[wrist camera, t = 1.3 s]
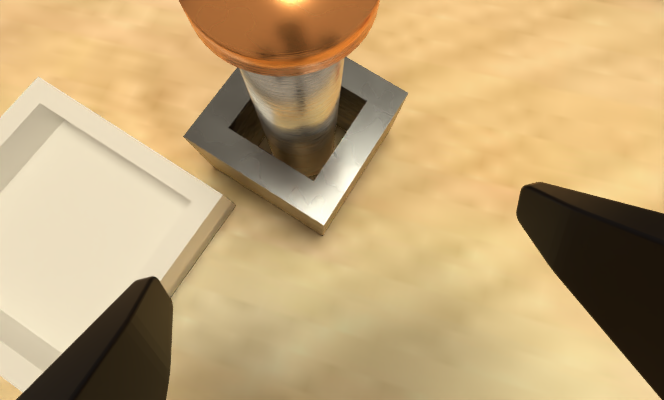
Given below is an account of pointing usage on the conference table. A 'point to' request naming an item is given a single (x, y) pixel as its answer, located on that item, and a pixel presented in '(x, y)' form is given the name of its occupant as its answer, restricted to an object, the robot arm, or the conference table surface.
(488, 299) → the conference table surface
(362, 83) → the block
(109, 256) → the tray
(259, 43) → the hitch pin
